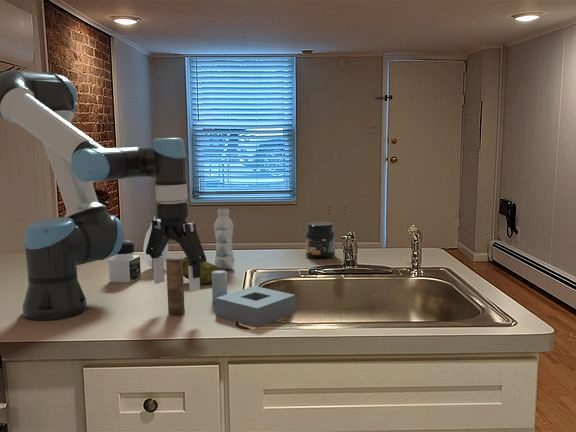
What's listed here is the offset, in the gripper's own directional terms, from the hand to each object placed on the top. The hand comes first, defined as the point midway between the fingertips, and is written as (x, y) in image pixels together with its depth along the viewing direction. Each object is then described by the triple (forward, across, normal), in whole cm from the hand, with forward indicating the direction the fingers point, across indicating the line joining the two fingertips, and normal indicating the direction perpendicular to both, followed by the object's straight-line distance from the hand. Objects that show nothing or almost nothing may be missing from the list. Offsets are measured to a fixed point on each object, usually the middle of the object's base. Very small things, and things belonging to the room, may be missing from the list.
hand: (176, 286), depth 145 cm
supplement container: (+7, +12, -75) cm, 76 cm away
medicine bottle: (+7, +40, -12) cm, 42 cm away
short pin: (+7, 0, -14) cm, 16 cm away
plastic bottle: (+7, +24, -40) cm, 47 cm away
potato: (+7, +18, -24) cm, 31 cm away
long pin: (+7, 0, 0) cm, 7 cm away
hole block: (+7, -16, -12) cm, 21 cm away
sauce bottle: (+7, +44, -27) cm, 52 cm away
